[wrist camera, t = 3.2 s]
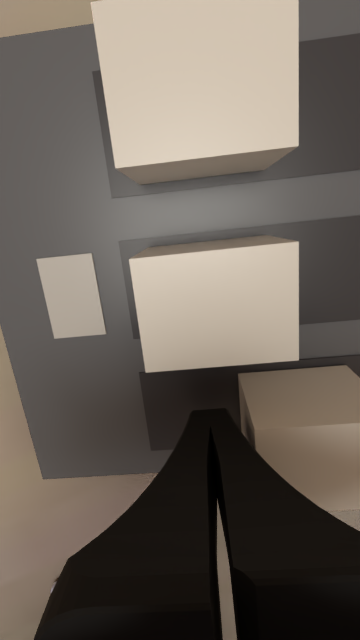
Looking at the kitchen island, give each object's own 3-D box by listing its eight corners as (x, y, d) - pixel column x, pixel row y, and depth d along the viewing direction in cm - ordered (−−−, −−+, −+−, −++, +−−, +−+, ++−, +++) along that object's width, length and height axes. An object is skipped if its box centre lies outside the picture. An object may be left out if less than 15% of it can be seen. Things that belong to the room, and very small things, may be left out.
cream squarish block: (264, 169, 10) (298, 146, 7) (139, 184, 11) (115, 168, 7) (261, 57, 10) (298, -30, 6) (125, 76, 10) (90, 2, 6)
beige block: (343, 433, 13) (394, 507, 10) (242, 440, 13) (258, 514, 10) (345, 365, 12) (404, 420, 9) (237, 373, 12) (254, 429, 9)
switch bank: (490, 427, 15) (526, 452, 13) (56, 456, 16) (42, 480, 14) (578, -20, 10) (647, -63, 9) (-42, 70, 11) (-79, 47, 10)
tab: (268, 320, 12) (298, 360, 8) (158, 330, 12) (145, 372, 9) (266, 235, 11) (298, 241, 8) (147, 247, 11) (129, 259, 8)
